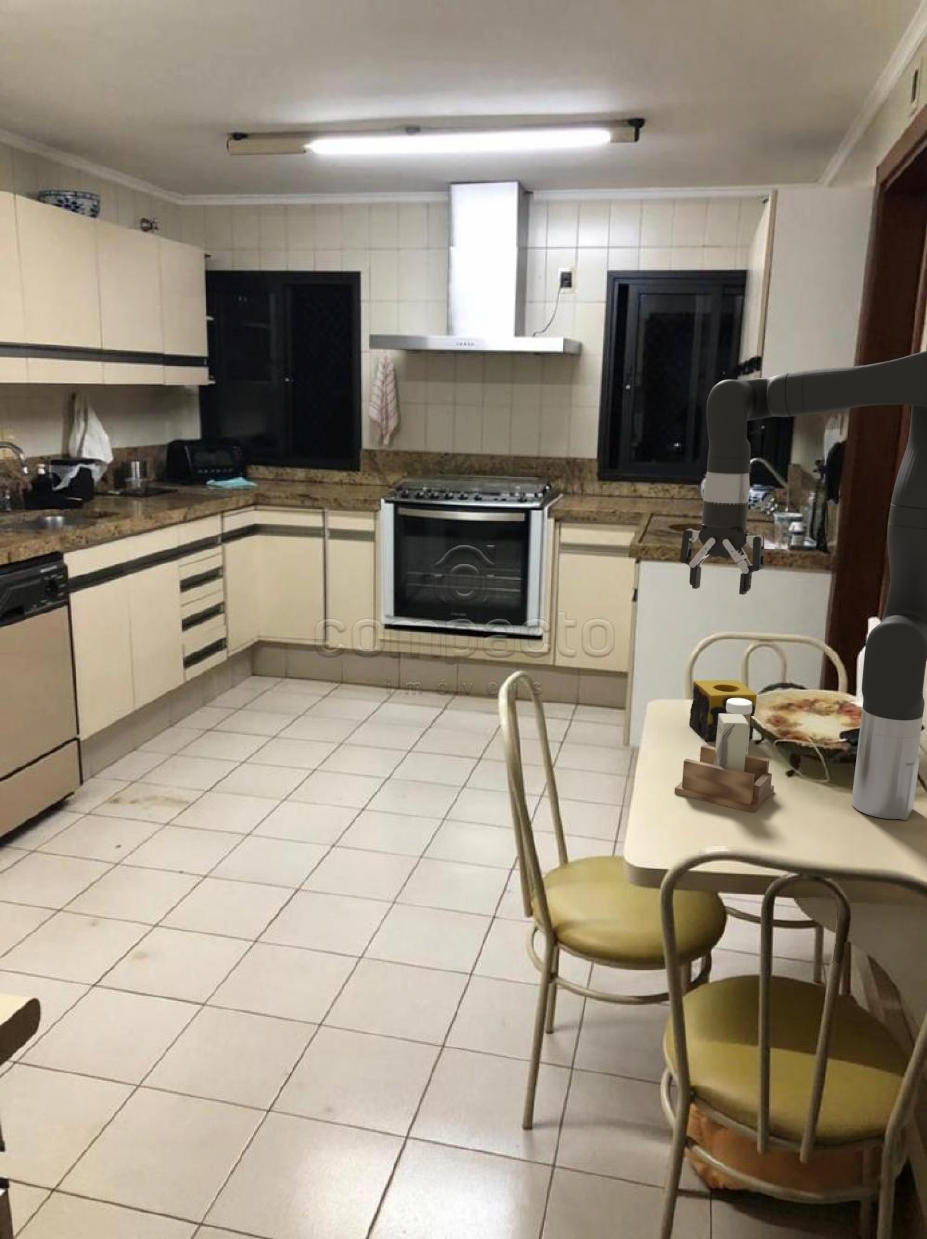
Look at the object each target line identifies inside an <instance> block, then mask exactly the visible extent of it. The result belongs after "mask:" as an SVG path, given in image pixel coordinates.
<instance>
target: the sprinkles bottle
mask: <svg viewBox="0 0 927 1239" xmlns="http://www.w3.org/2000/svg"><path fill="white" fill-rule="evenodd" d="M726 710H727V711H726V712H727V714H742V715H743V716H744V717H745V719H746V720H747V722H748V724H749V727H748V737H747V747H746V754H747V755H749V754H748V753H749V744H750V743H749V742H750V740H749V733H750V715H751V712H752V702H751V701H749V700H747V699H742V698H731V699H728V700H727V703H726Z"/></svg>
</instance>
